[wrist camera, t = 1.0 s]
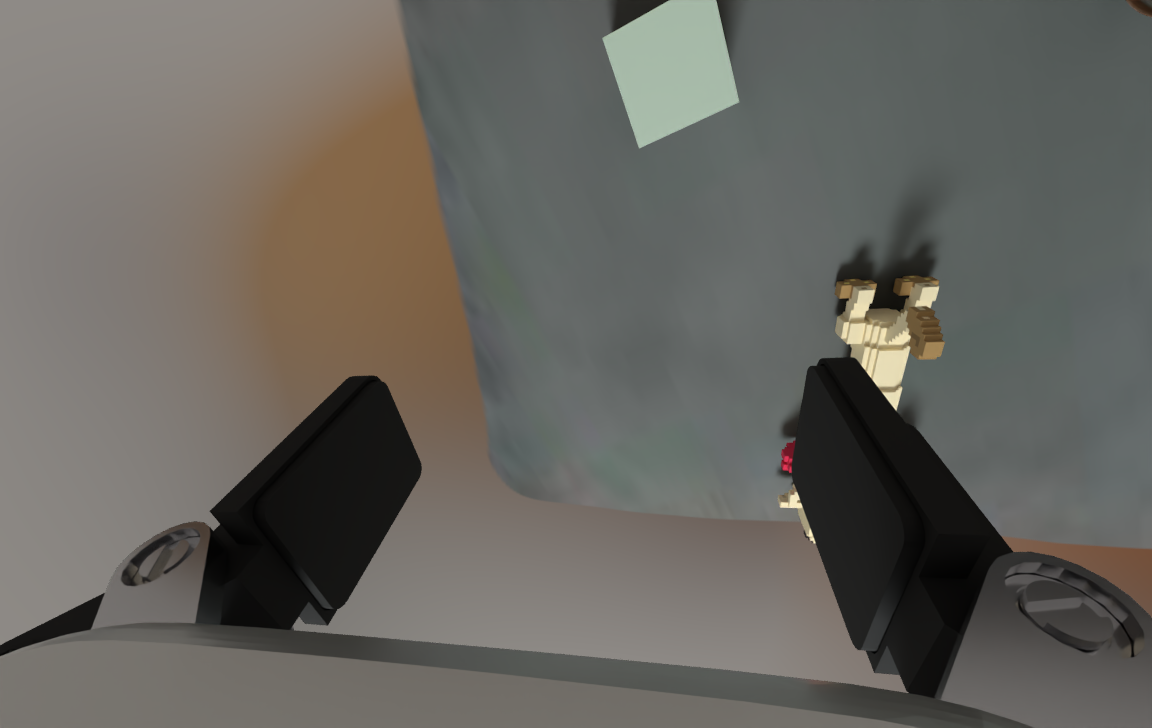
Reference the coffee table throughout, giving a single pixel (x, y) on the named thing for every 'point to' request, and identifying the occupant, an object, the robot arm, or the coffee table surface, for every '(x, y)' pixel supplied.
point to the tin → (1141, 6)
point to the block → (672, 67)
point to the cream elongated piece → (880, 344)
